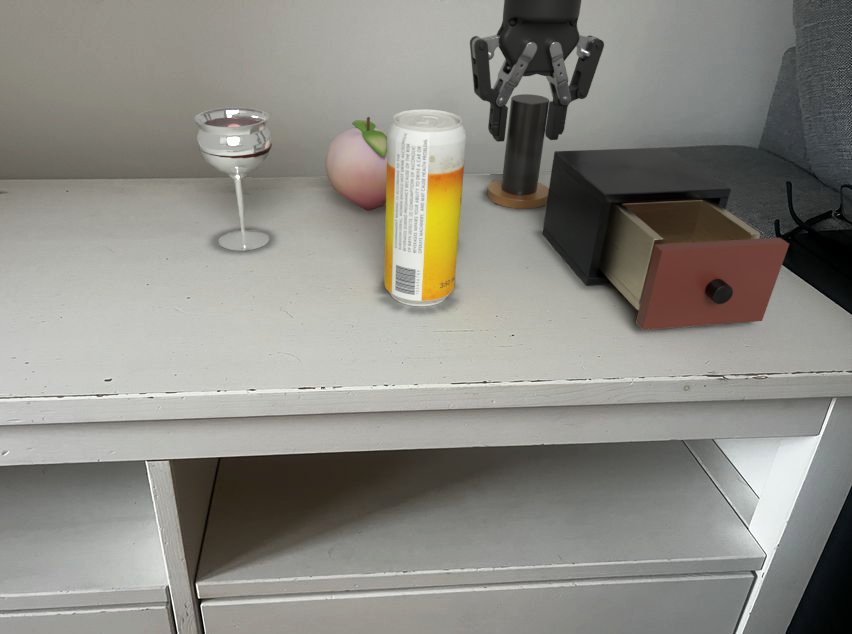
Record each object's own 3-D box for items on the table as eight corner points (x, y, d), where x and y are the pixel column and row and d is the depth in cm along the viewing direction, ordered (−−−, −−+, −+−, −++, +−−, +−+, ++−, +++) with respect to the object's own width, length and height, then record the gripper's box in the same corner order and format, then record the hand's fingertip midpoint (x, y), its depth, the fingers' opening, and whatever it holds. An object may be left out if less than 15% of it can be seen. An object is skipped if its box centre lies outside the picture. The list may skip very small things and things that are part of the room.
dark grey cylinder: (529, 182, 84) (541, 93, 79) (541, 194, 81) (554, 103, 75) (496, 183, 83) (506, 94, 78) (507, 196, 80) (518, 104, 75)
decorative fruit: (313, 202, 80) (310, 110, 75) (379, 191, 83) (380, 102, 78) (349, 233, 73) (348, 134, 68) (419, 220, 76) (423, 125, 71)
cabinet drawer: (771, 328, 57) (800, 250, 53) (649, 338, 56) (670, 258, 52) (694, 263, 67) (714, 193, 63) (589, 270, 65) (602, 198, 61)
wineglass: (203, 231, 73) (188, 110, 66) (269, 222, 75) (260, 104, 68) (216, 259, 68) (200, 130, 61) (286, 248, 70) (278, 123, 63)
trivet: (536, 185, 86) (537, 177, 86) (557, 207, 80) (559, 198, 80) (480, 187, 85) (480, 179, 84) (497, 210, 79) (498, 201, 79)
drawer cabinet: (705, 278, 66) (731, 188, 62) (586, 286, 65) (604, 194, 60) (646, 228, 76) (665, 147, 71) (541, 233, 74) (554, 151, 69)
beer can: (461, 283, 64) (475, 112, 56) (443, 315, 60) (456, 133, 51) (396, 272, 66) (402, 104, 58) (374, 302, 61) (376, 124, 53)
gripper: (486, -32, 66) (470, 151, 75) (633, -31, 68) (600, 147, 77) (465, -40, 72) (453, 131, 81) (600, -39, 74) (573, 127, 83)
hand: (525, 138), depth 79 cm, fingers open, 5 cm apart
